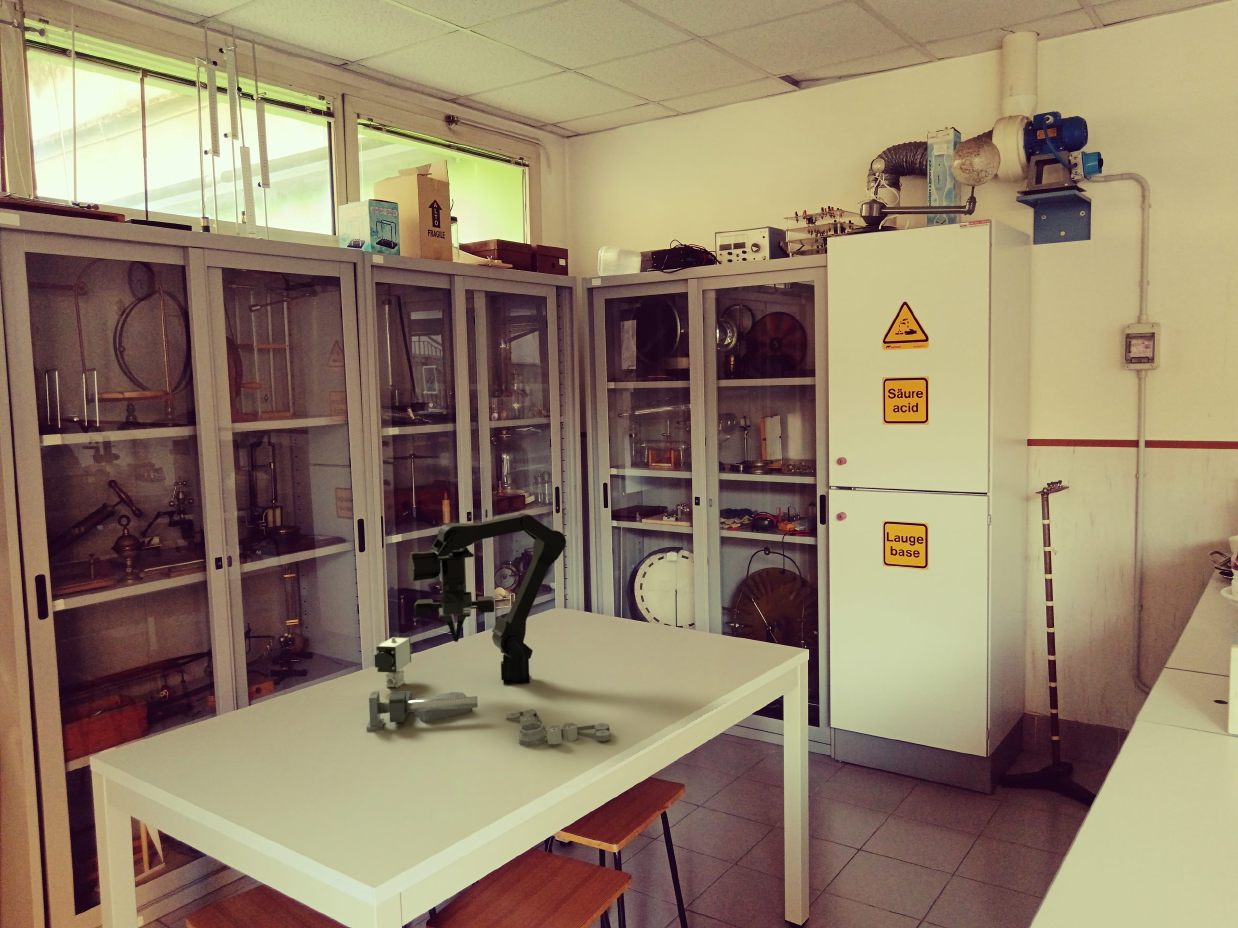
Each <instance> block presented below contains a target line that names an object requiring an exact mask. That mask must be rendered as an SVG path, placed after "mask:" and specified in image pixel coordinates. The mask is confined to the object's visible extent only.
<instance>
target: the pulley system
mask: <svg viewBox="0 0 1238 928" xmlns="http://www.w3.org/2000/svg"><path fill="white" fill-rule="evenodd" d="M505 717H506V720H507V721H509V722H514V723H518V724H520V727H519V728H518V730H519V734H518V735H517V738H518V744H519V745H520V746H523V747H530V748H531V747H539V746H543V745H546V744H549V745H557V744H560V743H562V742H563V740H564V741H565V742H574V741H576V740H577V739H578V738H579V737H583V738H588V739H591V740H596V741H600V742H604V743H605V742H607V741H608V740H611V739H612V734H611V733H612V732H611V729H610V724H608V723H604V722H601V723H597V724H592V725H590V724H589V725H584V726H583V725H581V726H577V723H575V722H567V723H564V724H563V725H562V727H561V726H560V725H558V724H557V725H549V726H548V727H547V728H545V726H544V723H543V722H542V720H541V718H540V716H539V714H538V712H537V710H536V709H533V708H532V709H525V710H524V711H518V712H517V711H516V712H510V713H508V714H506V715H505ZM535 719H537V721H538V722H536V721H535ZM591 730H593V731H594V733H595V734H592V733H587V732H585V731H591ZM583 731H584V732H583Z"/></svg>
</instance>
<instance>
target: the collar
mask: <svg viewBox="0 0 1238 928" xmlns="http://www.w3.org/2000/svg"><path fill="white" fill-rule="evenodd" d="M412 695H413V694H412V690H405V691H404V690H403V691H397V692H392V693H391V694H390V696H389V699H388V702H389V712H390V713H389V723H399V722H401V723H402V722H406V721H405V720H406V718H408V714H409V712H404V701H410V700H413V698H412V697H413V696H412Z"/></svg>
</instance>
